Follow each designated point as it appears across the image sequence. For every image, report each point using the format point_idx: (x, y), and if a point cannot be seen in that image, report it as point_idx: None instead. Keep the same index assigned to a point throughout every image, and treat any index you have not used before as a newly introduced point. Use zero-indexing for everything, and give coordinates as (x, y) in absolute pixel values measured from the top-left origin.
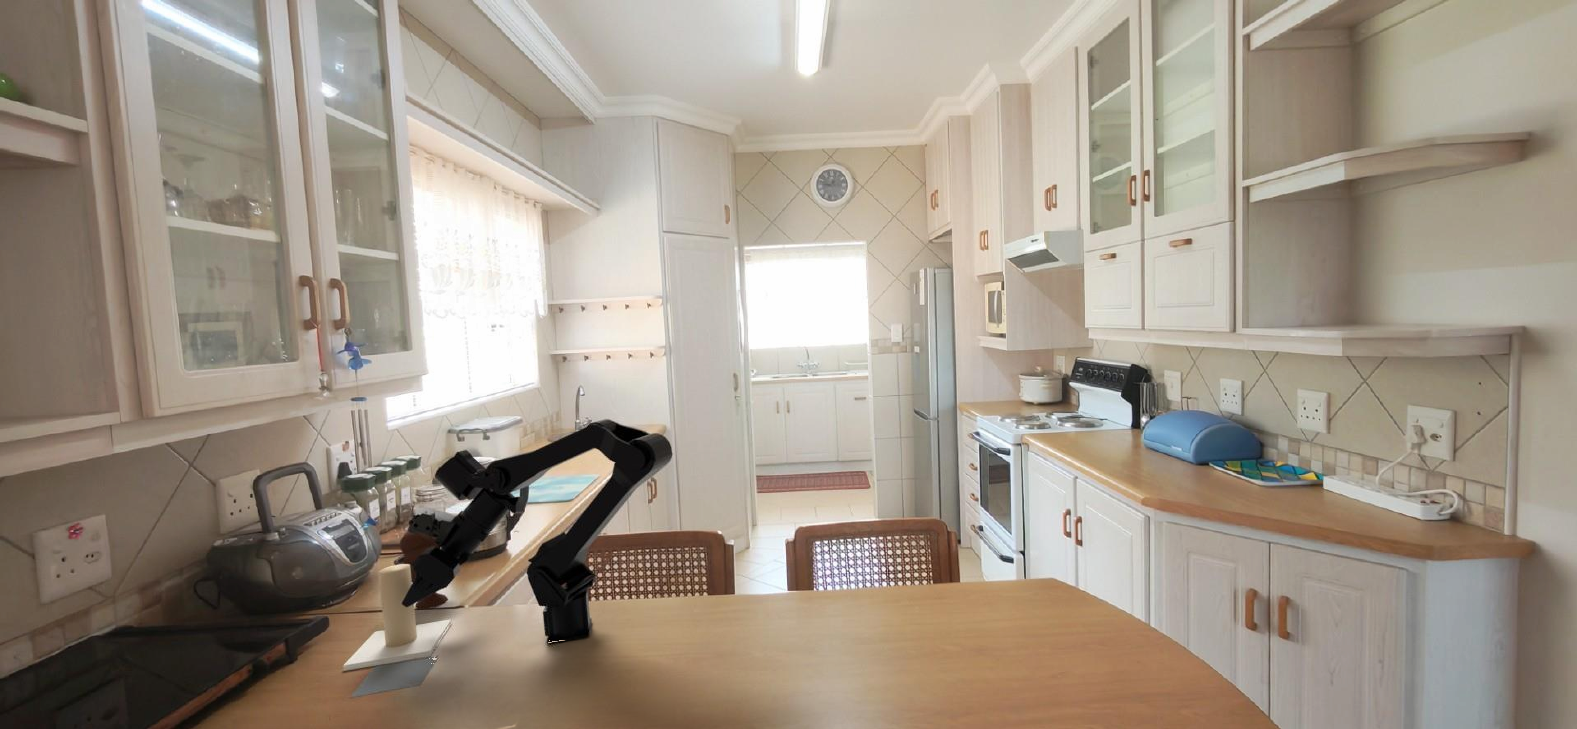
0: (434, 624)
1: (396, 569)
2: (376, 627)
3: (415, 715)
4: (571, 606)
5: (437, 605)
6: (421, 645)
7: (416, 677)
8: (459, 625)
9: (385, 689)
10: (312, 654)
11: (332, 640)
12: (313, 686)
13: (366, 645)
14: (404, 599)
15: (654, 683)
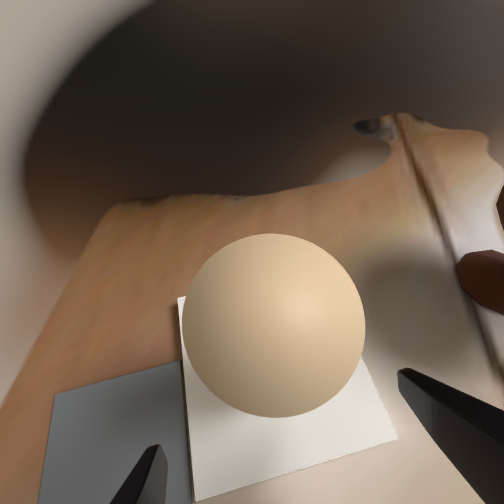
0: (360, 396)
1: (253, 334)
2: (360, 239)
3: None
4: None
5: (487, 306)
6: (234, 443)
7: None
8: (392, 466)
9: (51, 470)
10: (261, 205)
11: (308, 201)
12: (144, 282)
13: None
14: (129, 477)
15: None
